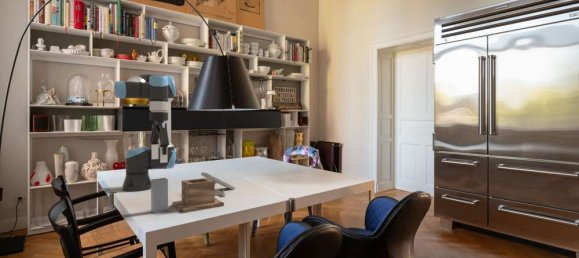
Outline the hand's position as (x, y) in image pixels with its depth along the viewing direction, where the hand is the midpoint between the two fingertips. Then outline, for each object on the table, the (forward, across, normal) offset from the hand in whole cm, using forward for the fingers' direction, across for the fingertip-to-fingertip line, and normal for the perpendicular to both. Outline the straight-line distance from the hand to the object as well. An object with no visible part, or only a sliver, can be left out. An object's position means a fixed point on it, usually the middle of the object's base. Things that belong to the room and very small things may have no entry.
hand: (159, 160), depth 140 cm
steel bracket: (+22, 0, 0) cm, 22 cm away
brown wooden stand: (+22, +1, +17) cm, 28 cm away
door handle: (+22, -16, +38) cm, 47 cm away
